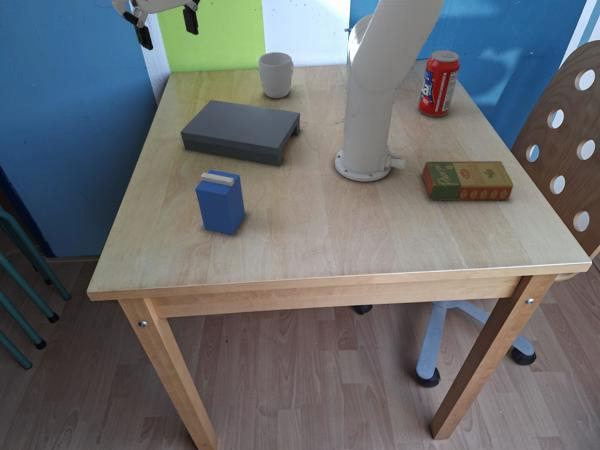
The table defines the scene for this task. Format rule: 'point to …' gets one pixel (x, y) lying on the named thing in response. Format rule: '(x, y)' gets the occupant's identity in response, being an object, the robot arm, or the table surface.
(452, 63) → the soda can
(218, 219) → the blue milk carton
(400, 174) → the table surface
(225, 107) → the riser board
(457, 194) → the carton
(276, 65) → the mug
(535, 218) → the table surface
